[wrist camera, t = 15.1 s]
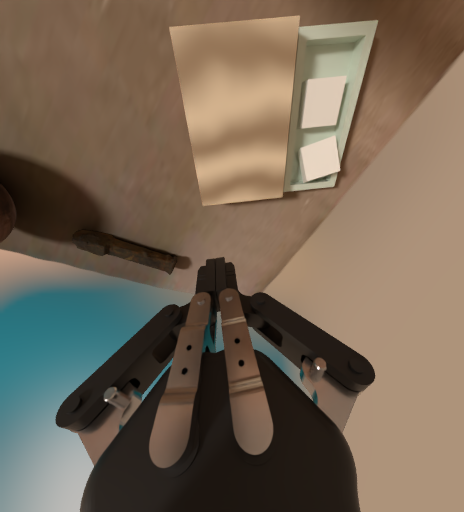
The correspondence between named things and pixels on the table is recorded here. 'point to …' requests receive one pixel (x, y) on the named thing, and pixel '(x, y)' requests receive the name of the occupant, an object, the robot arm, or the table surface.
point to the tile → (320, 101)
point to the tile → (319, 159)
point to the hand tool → (122, 250)
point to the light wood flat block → (238, 104)
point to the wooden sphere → (6, 214)
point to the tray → (321, 66)
